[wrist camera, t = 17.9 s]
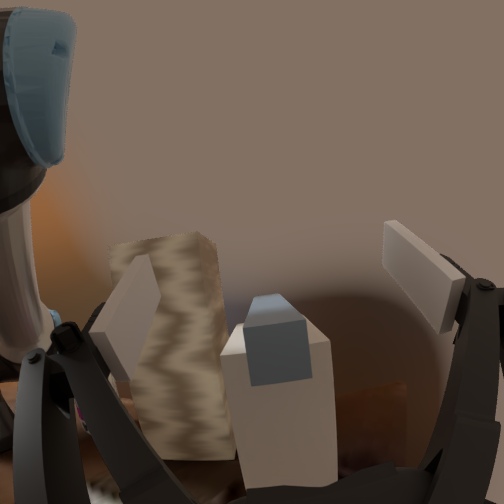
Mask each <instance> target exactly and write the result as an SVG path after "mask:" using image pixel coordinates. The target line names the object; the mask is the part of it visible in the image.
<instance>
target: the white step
mask: <svg viewBox="0 0 504 504" xmlns="http://www.w3.org/2000/svg"><path fill="white" fill-rule="evenodd" d="M302 316H303V315H302ZM303 317H304V318H305V319H306V323H307V331H308V340H309V349H310V358H311V368H312V378H309V379H303V380H297V381H291V382H284V383H277V384H269V385H261V386H253V387H251V382H250V376H249V369H248V362H247V356H246V349H245V342H244V335H243V325H244V323H243V324H237V326H236V328H235V329H234V331H233V333H232V335H231V337H230V338H229V340H228V342H227V344H226V345H225V347H224V349H223V351H222V352H221V354H220V361H221V367H222V373H223V378H224V384H225V390H226V395H227V401H228V406H229V412H230V417H231V422H232V427H233V432H234V437H235V442H236V447H237V452H238V457H239V462H240V466H241V471H242V475H243V480H244V484H245V489H248V488H261V487H271V486H280V485H289V486H306V487H324V486H327V485H330V484H332V483H334V482H336V481H338V462H337V431H336V411H335V395H334V382H333V369H332V357H331V347H330V340H329V339H328V338H326V336H325V335H323V333H321V332H320V331H319V330H318V329H317V328H316V327H315V326H314V325H313V324H312V323H311V322H310V321H309V320H308V319H307V318H306V317H305V316H303Z"/></svg>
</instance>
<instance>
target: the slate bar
mask: <svg viewBox="0 0 504 504" xmlns="http://www.w3.org/2000/svg"><path fill="white" fill-rule="evenodd" d="M243 335H244V342H245V349H246V356H247V362H248V369H249V376H250V382H251V387H253V386H261V385H269V384H277V383H284V382H291V381H297V380H303V379H309V378H312V368H311V358H310V349H309V340H308V331H307V323H306V319H305V318H304V317H303V316H302V315H301V314H300V313H299V312H298V311H297V310H296V309H295V308H294V307H293V306H292V305H290V304H289V303H288V302H287V301H286V300H285V299H284V298H283V297H282V296H281V295H280V294H279V293H278V294H271V295H263V296H256V297H254V299H253V302H252V304H251V307H250V310H249V312H248V315H247V318H246V320H245V323H244V325H243Z"/></svg>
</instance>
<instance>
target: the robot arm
mask: <svg viewBox="0 0 504 504" xmlns="http://www.w3.org/2000/svg"><path fill="white" fill-rule="evenodd" d="M76 34H77V29H76V24H75V22H74V20H73V18H72V17H71V16H70V15H69V14H67V13H65V12H60V11H54V10H46V9H37V8H28V7H14V8H1V9H0V383H4V382H17V381H19V383H18V390H17V398H16V407H15V415H14V413H13V412H12V410H11V409H10V407H9V406H8V404H7V403H6V401H5V399H4V398H3V396H2V394H1V390H0V452H3V451H6V450H8V449H10V448H12V447H13V484H14V498H15V504H91V502H90V499H89V494H88V490H87V486H86V481H85V476H84V471H83V466H82V461H81V455H80V448H79V442H78V434H77V426H76V417H75V406H74V398H75V400H76V403H77V405H78V407H79V410H80V412H81V415H82V417H83V419H84V421H85V424H86V426H87V428H88V430H89V432H90V434H91V437H92V439H93V441H94V443H95V445H96V447H97V449H98V451H99V453H100V454H101V456H102V458H103V460H104V462H105V464H106V466H107V467H108V469H109V471H110V473H111V474H112V476H113V478H114V480H115V481H116V483H117V485H118V486H119V488H120V491H121V492H120V493H119V496H120V499H121V501H122V502H123V504H200V503H199V502H198V501H197V500H196V499H195V498H194V497H193V495H192V494H191V493H190V492H189V491H188V490H187V489H186V488H185V487H184V485H183V484H182V483H181V482H180V481H179V480H178V478H177V477H176V476H175V475H174V474H173V473H172V471H171V470H170V469H169V468H168V466H167V465H166V464H165V463H164V461H163V460H162V459H161V458H160V456H159V455H158V454H157V452H156V451H155V450H154V448H153V447H152V446H151V444H150V443H149V442H148V440H147V439H146V437H145V436H144V435H143V433H142V432H141V430H140V429H139V428H138V426H137V425H136V423H135V422H134V420H133V419H132V417H131V416H130V414H129V413H128V411H127V409H126V408H125V406H124V405H123V403H122V402H121V400H120V398H119V397H118V395H117V393H116V392H115V390H114V388H113V387H112V385H111V383H110V382H109V380H108V377H109V375H110V372H111V374H112V375H113V377H114V379H115V380H116V381H118V382H122V381H123V382H132V379H133V376H134V373H135V369H136V366H137V363H138V360H139V357H140V354H141V351H142V349H143V346H144V343H145V340H146V337H147V334H148V331H149V329H150V326H151V323H152V320H153V317H154V315H155V312H156V309H157V307H158V304H159V301H160V299H161V294H160V291H159V288H158V284H157V281H156V278H155V275H154V272H153V268H152V265H151V262H150V258H149V255H148V254H145V255H139V256H135V258H134V259H133V261H132V262H131V264H130V265H129V267H128V268H127V270H126V272H125V273H124V275H123V276H122V278H121V279H120V281H119V282H118V284H117V286H116V287H115V289H114V290H113V292H112V294H111V295H110V297H109V299H108V300H107V302H104V303H101V304H100V305H99V306H98V307H97V308H96V309H95V310H94V312H93V313H92V315H91V317H90V318H89V320H88V322H87V324H86V325H85V327H84V328H83V330H82V332H81V331H80V330H79V328H78V326H77V324H76V323H75V322H65V323H63V324H62V323H61V319H60V316H59V314H58V312H57V311H55V310H50V309H47V307H46V306H45V305H44V304H43V303H42V302H41V301H40V297H39V291H38V286H37V279H36V271H35V264H34V255H33V244H32V231H31V211H30V199H31V198H32V197H33V196H34V195H35V194H36V193H37V191H38V190H39V189H40V187H41V186H42V184H43V182H44V179H45V176H46V171H47V168H50V167H52V166H53V165H58V164H60V163H61V162H62V160H63V158H64V150H65V133H66V116H67V104H68V96H69V87H70V78H71V70H72V63H73V56H74V49H75V42H76ZM382 266H383V267H384V268H385V269H386V270H387V272H388V273H389V274H390V275H391V276H392V277H393V279H394V280H395V281H396V282H397V283H398V285H399V286H400V287H401V288H402V289H403V291H404V292H405V293H406V294H407V296H408V297H409V298H410V299H411V300H412V302H413V303H414V304H415V305H416V307H417V308H418V309H419V310H420V312H421V313H422V314H423V316H424V317H425V318H426V319H427V321H428V322H429V323H430V325H431V326H432V327H433V328H434V330H435V331H436V332H437V334H438V335H440V334H442V333H446V332H449V331H451V330H452V327H453V324H454V320H456V321H457V322H458V324H459V327H458V330H457V333H456V336H455V339H454V341H453V344H455V347H454V353H453V358H452V363H451V368H450V372H449V377H448V382H447V386H446V390H445V394H444V397H443V401H442V405H441V408H440V412H439V415H438V419H437V422H436V425H435V428H434V431H433V434H432V437H431V440H430V443H429V445H428V448H427V451H426V453H425V456H424V458H423V460H422V461H421V463H420V465H419V467H418V469H417V468H411V467H395V465H394V462H393V460H391V461H388V462H385V463H382V464H378V465H375V466H372V467H368V468H365V469H361V470H358V471H357V472H355V473H353V474H351V475H349V476H347V477H345V478H342V479H340V480H338V481H336V482H334V483H332V484H330V485H327V486H324V487H306V486H289V485H280V486H271V487H261V488H248V489H246V496H245V497H241V498H238V499H236V500H233V501H231V502H229V503H227V504H496V503H494V502H491V501H489V500H486V499H485V497H486V493H487V490H488V486H489V483H490V479H491V475H492V471H493V467H494V463H495V458H496V453H497V448H498V443H499V437H500V429H501V425H500V422H497V421H495V413H496V404H497V395H498V383H499V363H501V367H502V372H503V376H504V288H496V286H495V285H494V284H493V283H492V282H491V281H489V280H486V279H483V278H477V279H474V278H473V277H471V276H470V275H469V274H468V273H467V272H466V271H465V270H463V269H462V268H460V266H459V265H457V264H455V262H454V261H453V260H452V259H450V258H449V257H447V256H445V255H442V254H438V253H437V252H436V251H435V250H434V249H432V248H431V247H430V246H429V245H427V244H426V243H425V242H424V241H422V240H421V239H420V238H419V237H417V236H416V235H414V234H413V233H412V232H411V231H410V230H408V229H407V228H406V227H404V226H403V225H402V224H400V223H399V222H398V221H396V220H392V221H384V237H383V254H382Z"/></svg>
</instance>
